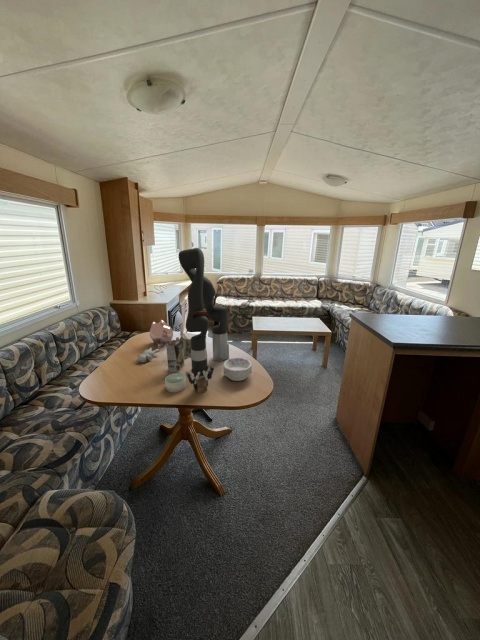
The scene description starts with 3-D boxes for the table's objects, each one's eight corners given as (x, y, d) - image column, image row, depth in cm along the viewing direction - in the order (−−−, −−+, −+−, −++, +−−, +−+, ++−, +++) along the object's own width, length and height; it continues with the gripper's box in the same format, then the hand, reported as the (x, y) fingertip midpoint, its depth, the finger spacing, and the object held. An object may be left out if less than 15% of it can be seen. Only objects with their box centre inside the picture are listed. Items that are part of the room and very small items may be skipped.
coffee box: (178, 372, 146) (176, 346, 141) (168, 371, 147) (165, 345, 142) (185, 365, 154) (183, 340, 150) (175, 364, 156) (172, 339, 151)
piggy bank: (166, 337, 199) (165, 317, 194) (177, 344, 186) (176, 323, 181) (147, 342, 189) (144, 321, 185) (157, 349, 176) (154, 327, 171)
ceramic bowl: (182, 379, 139) (181, 371, 137) (188, 388, 130) (188, 379, 129) (163, 384, 134) (162, 375, 132) (168, 394, 126) (167, 384, 124)
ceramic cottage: (170, 357, 164) (169, 335, 160) (183, 348, 179) (183, 328, 175) (192, 362, 160) (192, 339, 156) (203, 352, 175) (204, 331, 171)
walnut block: (203, 386, 132) (202, 375, 131) (206, 390, 129) (206, 379, 127) (195, 388, 130) (194, 378, 128) (198, 393, 126) (197, 382, 125)
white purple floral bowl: (227, 386, 132) (226, 372, 130) (221, 372, 146) (220, 359, 144) (255, 381, 136) (255, 368, 134) (247, 368, 150) (247, 356, 148)
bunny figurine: (132, 356, 157) (147, 344, 170) (134, 364, 159) (149, 351, 172) (145, 358, 154) (160, 346, 167) (147, 366, 156) (161, 353, 169)
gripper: (209, 351, 131) (211, 381, 136) (182, 357, 124) (184, 388, 129) (216, 356, 124) (217, 387, 129) (187, 363, 118) (189, 396, 123)
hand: (200, 388), depth 129 cm, fingers closed on walnut block, 4 cm apart
